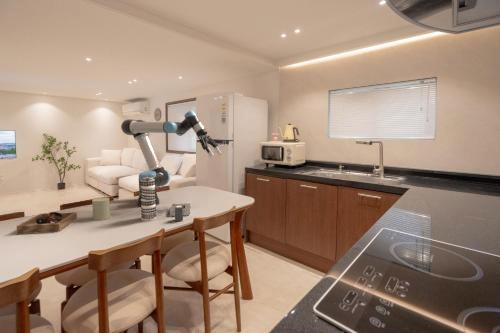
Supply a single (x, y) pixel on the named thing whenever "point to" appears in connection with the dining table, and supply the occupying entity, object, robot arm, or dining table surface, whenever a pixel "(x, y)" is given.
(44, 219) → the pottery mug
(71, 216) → the tray
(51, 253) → the dining table surface
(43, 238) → the dining table surface
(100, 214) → the can
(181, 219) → the plug
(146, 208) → the decorative candle
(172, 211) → the socket plate
